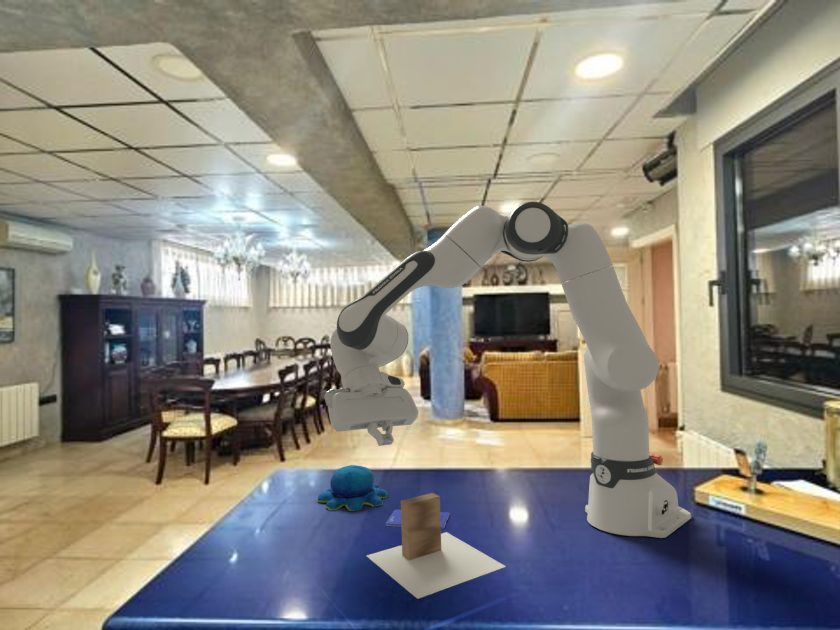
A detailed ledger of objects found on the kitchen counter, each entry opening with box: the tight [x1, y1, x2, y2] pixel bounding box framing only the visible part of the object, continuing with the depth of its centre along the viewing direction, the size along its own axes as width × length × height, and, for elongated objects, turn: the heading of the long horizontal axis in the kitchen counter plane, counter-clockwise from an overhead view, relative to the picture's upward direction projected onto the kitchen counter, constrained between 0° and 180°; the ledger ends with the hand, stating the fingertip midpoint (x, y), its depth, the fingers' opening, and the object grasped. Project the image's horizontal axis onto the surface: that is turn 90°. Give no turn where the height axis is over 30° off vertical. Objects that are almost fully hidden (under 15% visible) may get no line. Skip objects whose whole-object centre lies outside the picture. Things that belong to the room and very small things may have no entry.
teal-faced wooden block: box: [400, 492, 442, 560], centre depth 95 cm, size 7×3×10 cm, turn 122°
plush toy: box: [317, 464, 389, 512], centre depth 127 cm, size 17×17×8 cm
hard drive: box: [385, 509, 450, 530], centre depth 111 cm, size 2×8×12 cm
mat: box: [366, 531, 507, 600], centre depth 92 cm, size 18×18×1 cm
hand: (386, 443), depth 105 cm, fingers closed
